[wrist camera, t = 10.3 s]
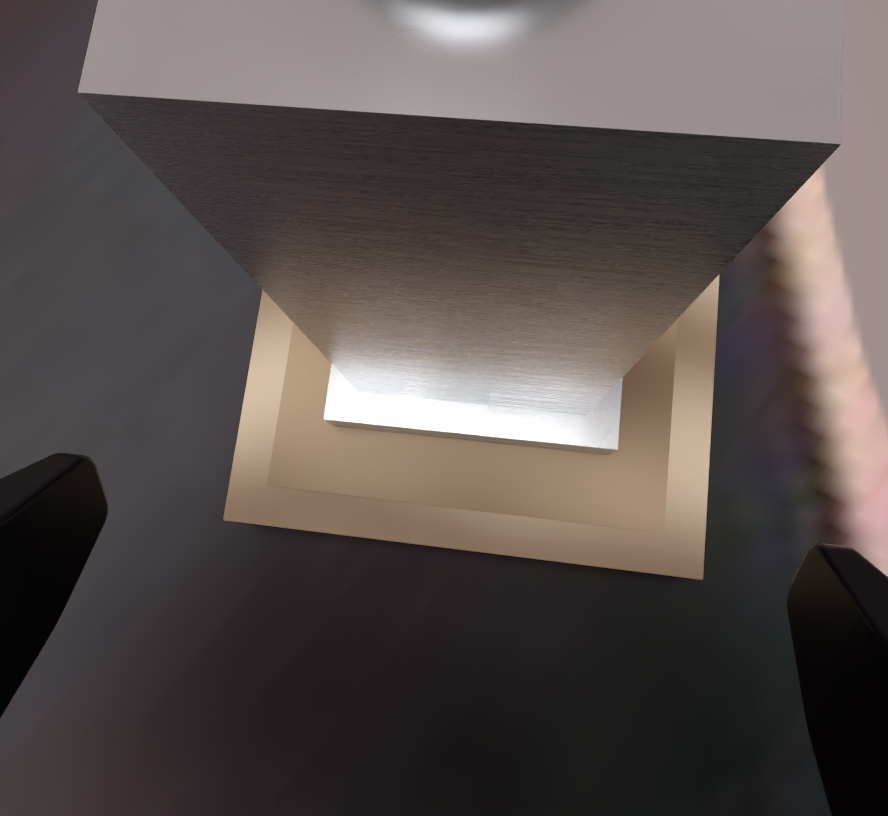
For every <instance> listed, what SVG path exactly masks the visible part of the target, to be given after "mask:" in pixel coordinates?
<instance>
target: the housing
mask: <svg viewBox="0 0 888 816" xmlns="http://www.w3.org/2000/svg"><path fill="white" fill-rule="evenodd" d="M842 49H843V0H98V4H97V9H96V13H95V18H94V22H93V27H92V31H91V36H90V40H89V45H88V49H87V53H86V58H85V62H84V67H83V71H82V76H81V80H80V85H79V89H78V93H79V94H80V95H81V96H82V98H83V99H84V100H85V101H86V102H87V103H88V104H89V105H90V106H91V107H92V108H93V109H94V110H95V111H96V112H97V114H98V115H99V116H100V117H101V118H102V119H103V120H104V121H105V122H106V123H107V124H108V125H109V126H110V127H111V128H112V130H113V131H114V132H115V133H116V134H117V135H118V136H119V137H120V138H121V139H122V140H123V141H124V142H125V143H126V144H127V146H128V147H129V148H130V149H131V150H132V151H133V152H134V153H135V154H136V155H137V156H138V157H139V158H140V159H141V160H142V162H143V163H144V164H145V165H146V166H147V167H148V168H149V169H150V170H151V171H152V172H153V173H154V174H155V175H156V177H157V178H158V179H159V180H160V181H161V182H162V183H163V184H164V185H165V186H166V187H167V188H168V189H169V190H170V191H171V193H172V194H173V195H174V196H175V197H176V198H177V199H178V200H179V201H180V202H181V203H182V204H183V205H184V206H185V207H186V209H187V210H188V211H189V212H190V213H191V214H192V215H193V216H194V217H195V218H196V219H197V220H198V221H199V222H200V223H201V225H202V226H203V227H204V228H205V229H206V230H207V231H208V232H209V233H210V234H211V235H212V236H213V237H214V238H215V239H216V241H217V242H218V243H219V244H220V245H221V246H222V247H223V248H224V249H225V250H226V251H227V252H228V253H229V254H230V256H231V257H232V258H233V259H234V260H235V261H236V262H237V263H238V264H239V265H240V266H241V267H242V268H243V269H244V270H245V272H246V273H247V274H248V275H249V276H250V277H251V278H252V279H253V280H254V281H255V282H256V283H257V284H258V285H259V286H260V288H261V289H262V290H263V291H264V292H265V293H266V294H267V295H268V296H269V297H270V298H271V299H272V300H273V301H274V302H275V304H276V305H277V306H278V307H279V308H280V309H281V310H282V311H283V312H284V313H285V314H286V315H287V316H288V317H289V319H290V320H291V321H292V322H293V323H294V324H295V325H296V326H297V327H298V328H299V329H300V330H301V331H302V332H303V333H304V335H305V336H306V337H307V338H308V339H309V340H310V341H311V342H312V343H313V344H314V345H315V346H316V347H317V348H318V349H319V351H320V352H321V353H322V354H323V355H324V356H325V357H326V358H327V359H328V360H329V361H330V362H331V363H332V364H331V371H330V378H329V385H328V392H327V399H326V406H325V412H324V420H325V421H327V422H328V423H330V424H331V425H333V426H334V427H344V428H354V429H363V430H373V431H382V432H392V433H401V434H411V435H421V436H430V437H440V438H449V439H459V440H468V441H478V442H488V443H497V444H507V445H516V446H526V447H536V448H545V449H555V450H564V451H574V452H583V453H593V454H603V455H609V454H611V453H613V452H615V451H616V450H618V438H619V424H620V409H621V395H622V381H623V377H624V376H625V374H626V373H627V372H628V371H629V370H630V369H631V368H632V367H633V366H634V365H635V364H636V363H637V362H638V361H639V359H640V358H641V357H642V356H643V355H644V354H645V353H646V352H647V351H648V350H649V349H650V348H651V347H652V346H653V345H654V343H655V342H656V341H657V340H658V339H659V338H660V337H661V336H662V335H663V334H664V333H665V332H666V331H667V330H668V329H669V327H670V326H671V325H672V324H673V323H674V322H675V321H676V320H677V319H678V318H679V317H680V316H681V315H682V314H683V312H684V311H685V310H686V309H687V308H688V307H689V306H690V305H691V304H692V303H693V302H694V301H695V300H696V299H697V298H698V296H699V295H700V294H701V293H702V292H703V291H704V290H705V289H706V288H707V287H708V286H709V285H710V284H711V283H712V281H713V280H714V279H715V278H716V277H717V276H718V275H719V274H720V273H721V272H722V271H723V270H724V269H725V268H726V267H727V265H728V264H729V263H730V262H731V261H732V260H733V259H734V258H735V257H736V256H737V255H738V254H739V253H740V252H741V251H742V249H743V248H744V247H745V246H746V245H747V244H748V243H749V242H750V241H751V240H752V239H753V238H754V237H755V236H756V234H757V233H758V232H759V231H760V230H761V229H762V228H763V227H764V226H765V225H766V224H767V223H768V222H769V221H770V220H771V218H772V217H773V216H774V215H775V214H776V213H777V212H778V211H779V210H780V209H781V208H782V207H783V206H784V205H785V203H786V202H787V201H788V200H789V199H790V198H791V197H792V196H793V195H794V194H795V193H796V192H797V191H798V190H799V189H800V187H801V186H802V185H803V184H804V183H805V182H806V181H807V180H808V179H809V178H810V177H811V176H812V175H813V174H814V173H815V171H816V170H817V169H818V168H819V167H820V166H821V165H822V164H823V163H824V162H825V161H826V160H827V158H829V156H830V155H831V154H832V153H833V152H834V151H835V150H836V149H837V148H838V147H839V145H840V144H841V119H842V114H841V113H842Z"/></svg>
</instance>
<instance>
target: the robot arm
mask: <svg viewBox="0 0 888 816" xmlns="http://www.w3.org/2000/svg"><path fill="white" fill-rule="evenodd" d="M107 512H108V503H107V499H106V496H105V493H104V490H103V487H102V484H101V481H100V477H99V474H98V471H97V468H96V465H95V463H94V461H93V460H92V459H91V458H90V457H87V456H84V455H76V454H68V453H57V454H53V455H51V456H49V457H47V458H44V459H42V460H40V461H38V462H36V463H34V464H31V465H29V466H27V467H25V468H23V469H21V470H19V471H16V472H14V473H12V474H10V475H8V476H6V477H3V478H1V479H0V718H1V716H2V714H3V713H4V711H5V709H6V708H7V706H8V704H9V703H10V701H11V699H12V698H13V696H14V694H15V693H16V691H17V689H18V688H19V686H20V684H21V683H22V681H23V680H24V678H25V676H26V675H27V673H28V671H29V670H30V668H31V666H32V665H33V663H34V661H35V660H36V658H37V656H38V655H39V653H40V651H41V650H42V648H43V646H44V645H45V643H46V641H47V640H48V638H49V636H50V634H51V633H52V631H53V629H54V627H55V626H56V624H57V622H58V620H59V618H60V616H61V614H62V612H63V610H64V608H65V606H66V604H67V602H68V600H69V598H70V596H71V593H72V591H73V589H74V587H75V585H76V583H77V581H78V579H79V576H80V574H81V572H82V570H83V568H84V566H85V564H86V562H87V559H88V557H89V555H90V553H91V551H92V549H93V547H94V545H95V542H96V540H97V538H98V536H99V534H100V532H101V530H102V528H103V525H104V523H105V521H106V517H107ZM787 611H788V617H789V623H790V629H791V635H792V641H793V647H794V653H795V659H796V665H797V671H798V677H799V683H800V689H801V695H802V701H803V707H804V712H805V717H806V722H807V727H808V732H809V735H810V739H811V743H812V747H813V751H814V754H815V758H816V762H817V765H818V769H819V772H820V776H821V779H822V783H823V786H824V790H825V793H826V797H827V800H828V804H829V807H830V811H831V814H832V816H888V577H887V576H886V575H885V574H884V573H882V572H881V571H880V570H879V569H878V568H876V567H875V566H874V565H873V564H872V563H870V562H869V561H868V560H867V559H866V558H864V557H863V556H862V555H861V554H860V553H858V552H857V551H856V550H854V549H853V548H850V547H847V546H840V545H832V544H823V543H818V544H814V545H813V546H811V547H810V548H809V550H808V551H807V553H806V555H805V557H804V559H803V561H802V563H801V565H800V567H799V569H798V571H797V573H796V575H795V577H794V579H793V581H792V583H791V585H790V587H789V590H788V594H787Z"/></svg>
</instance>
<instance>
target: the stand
mask: <svg viewBox="0 0 888 816" xmlns="http://www.w3.org/2000/svg"><path fill="white" fill-rule="evenodd" d="M718 292H719V275H718V276H717V277H716V278H715V279H714V280H713V281H712V283H711V284H710V285H709V286H708V287H707V288H706V289H705V290H704V291H703V292H702V293H701V294H700V295H699V296H698V298H697V299H696V300H695V301H694V302H693V303H692V304H691V305H690V306H689V307H688V308H687V309H686V310H685V311H684V312H683V314H682V315H681V316H680V317H679V318H678V319H677V320H676V321H675V322H674V323H673V324H672V325H671V326H670V327H669V329H668V330H667V331H666V332H665V333H664V334H663V335H662V336H661V337H660V338H659V339H658V340H657V341H656V342H655V343H654V345H653V346H652V347H651V348H650V349H649V350H648V351H647V352H646V353H645V354H644V355H643V356H642V357H641V358H640V359H639V361H638V362H637V363H636V364H635V365H634V366H633V367H632V368H631V369H630V370H629V371H628V372H627V373H626V374H625V376H624V377H623V381H622V395H621V409H620V424H619V438H618V450H616V451H615V452H613V453H611V454H609V455H603V454H593V453H583V452H574V451H564V450H555V449H545V448H536V447H526V446H516V445H507V444H497V443H488V442H478V441H468V440H459V439H449V438H440V437H430V436H421V435H411V434H401V433H392V432H382V431H373V430H363V429H354V428H344V427H334V426H333V425H331V424H330V423H328V422H327V421H325V420H324V412H325V406H326V399H327V392H328V385H329V378H330V371H331V364H332V363H331V362H330V361H329V360H328V359H327V358H326V357H325V356H324V355H323V354H322V353H321V352H320V351H319V349H318V348H317V347H316V346H315V345H314V344H313V343H312V342H311V341H310V340H309V339H308V338H307V337H306V336H305V335H304V333H303V332H302V331H301V330H300V329H299V328H298V327H297V326H296V325H295V324H294V323H293V322H292V321H291V320H290V319H289V317H288V316H287V315H286V314H285V313H284V312H283V311H282V310H281V309H280V308H279V307H278V306H277V305H276V304H275V302H274V301H273V300H272V299H271V298H270V297H269V296H268V295H267V294H266V293H265V292H264V291H262V297H261V302H260V308H259V314H258V320H257V326H256V331H255V337H254V343H253V349H252V355H251V361H250V366H249V372H248V378H247V384H246V390H245V395H244V401H243V407H242V413H241V419H240V425H239V430H238V436H237V442H236V448H235V454H234V459H233V465H232V471H231V477H230V483H229V488H228V494H227V500H226V506H225V512H224V518H223V520H226V521H234V522H242V523H250V524H258V525H266V526H274V527H283V528H291V529H299V530H307V531H315V532H323V533H331V534H339V535H347V536H355V537H363V538H371V539H379V540H387V541H395V542H403V543H411V544H419V545H427V546H435V547H443V548H451V549H459V550H467V551H475V552H483V553H492V554H500V555H508V556H516V557H524V558H532V559H540V560H548V561H556V562H564V563H572V564H580V565H588V566H596V567H604V568H612V569H620V570H628V571H636V572H644V573H652V574H660V575H668V576H676V577H684V578H692V579H700V580H703V570H704V551H705V532H706V514H707V495H708V477H709V458H710V440H711V421H712V403H713V384H714V366H715V347H716V329H717V310H718Z"/></svg>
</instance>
